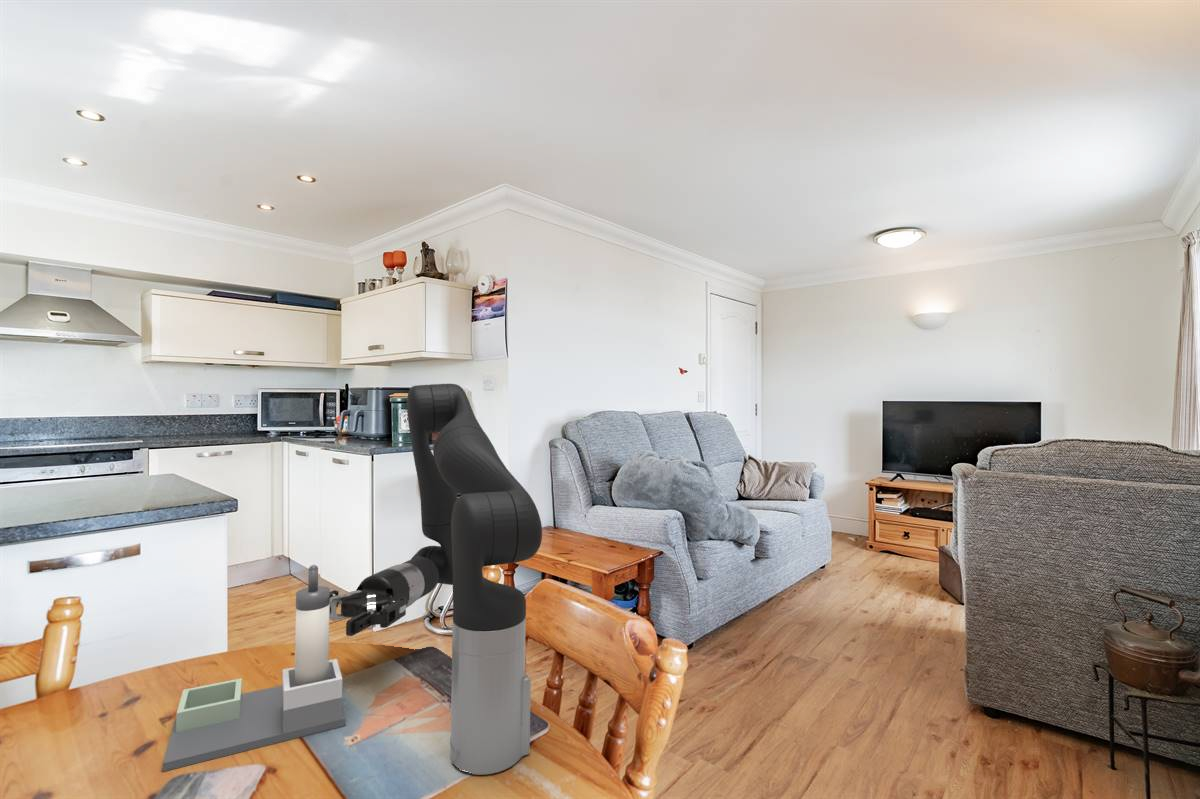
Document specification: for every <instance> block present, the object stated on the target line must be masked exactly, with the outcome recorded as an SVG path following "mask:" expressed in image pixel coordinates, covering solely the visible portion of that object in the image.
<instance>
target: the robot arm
mask: <svg viewBox="0 0 1200 799" xmlns="http://www.w3.org/2000/svg"><path fill="white" fill-rule="evenodd" d="M406 414H407V422H408V429H409V435H410V436H409V437H410V440H411V442H410V443H411V448H412V454H413V460H414V466H415V472H416V477H417V482H418V483H417V484H418V488H419V495H420V496H419V498H420V499H419V500H420V511H421V512H420V513H421V514H420V516H421V530H422V535H423V536H424V537H425V538H428V539H429V540H432V541H434V542H437V544H438V545H427V546H424V547H422V548H419V550H418V551H417V552H416V553H415V554H414V555H413V556H412V557H411V559H409V560H407V561H405V562H403V563H399V564H395V565H392V566H390V567H388V568H385V569H382V570H381V571H379V572H375V573H374V574H372V575H369V576H367V577H365V578H364V579H363V580H362V581H361V582H360V584H359V585H358V587H357V588H356V590H353V591H349V592H348V593H345V594H339V592H340V590H337V589H336V590H335V589H333V590H332V591H330V606H329V620H331V621H333V622H335V621H340V620H345V619H348V620H347V621H346V623H345V635H346V636H347V637H354V636H356V634H359V633H361V632H362V631H364V630H366V629H367V628H368V629H373V628H375V627H376V625H379V627H380V628H382V629H386V628H388V627H390V626H391V625H393V624H394V623H396V622H398V620H400V619H402V618H403V617H404V616H406V613H407V608H409V607H410V606H412V605H414V603H415V602H416V601H418V600H419V599H421V598H423V597H425V596H426V595H428V594H431V592H432V591H433V590H434V589H435V588H436V586H437V585H438V584H441V585H450V586H452V634H451V635H452V636H451V639H452V641H451V644H452V645H451V647H452V649H451V693H450V694H451V695H450V696H451V697H450V706H451V707H450V739H449V746H450V754H449V755H450V756H449V757H450V761H452V762H453V763H452V762H451V763H452V765H453V764H454V765H455V766H456V767H457V768H456V767H455V766H454V765H453V766H454V767H455V768H456V769H458V768H459V769H461V770H465V771H468V772H471V773H472V774H471V775H477V776H478V775H479V776H481V775H492V774H496V773H500V772H502V771H505V770H507V769H509V768H511V767H513V766H514V765H515V764H517V763H518V762H519V760H520V759H522V758H523V757H524V756H527V755H529V754H530V752H531V751H530V744H531V740H530V739H531V699H532V698H531V695H532V694H531V693H532V692H531V691H532V690H531V688H532V686H531V685H532V684H531V683H532V682H531V681H532V680H531V678H530V677H529V675H527V672H526V621H527V617H526V616H527V599H526V596H525V594H524V593H523V592H522V591H521V590H519V589H518V588H516V587H514V586H511V585H507V584H503V583H499V582H495V581H492V580H490V579H487V578H486V577H484V576H483V575H484V574H483V568H484V567H490V566H491V567H492V566H499V565H508V564H514V563H521V562H524V561H527V560H530V559H531V558H533V557H534V556H535V555H536V554H537V553H538V551H539V550H540V548H541V547H540V546H541V545H542V539H543V528H542V525H543V524H542V520H541V517H540V513H539V510H538V508H537V506H536V503H535V502H534V500H533V499H532V497H531V495H530V494H529V493H528V491H527V490H526V488H524V486H523V485H522V484H521V483H520V482H519V481H518V480H517V479H516V478H515V476H514V475H513V474H512V473H511V472H510V470H508V468H507V467H506V465H505V464H504V462H503V461H502V459H501V458H500V456H499V454H498V453H497V450H496V448H495V447H494V445H493V443H492V441H491V440H490V438H489V436H488V435H487V434H486V432H485V431H484V429H483V428H482V426H481V424H480V423H479V421H478V420H477V418H476V415H475V413H474V410H473V408H472V406H471V404H470V401H469V398H468V395H467V394H466V391H465V390H464V389H463V387H462V386H460V385H459V384H455V383H433V384H432V383H431V384H422V385H421V384H420V385H419V384H418V385H413V386H411V387H409V391H408V393H407V398H406ZM433 433H438V434H437V436H436V438H435V440H434V442H433V446H432V447H433V448H432V449H431V447H430V442H429V436H428V434H433ZM457 493H458V494H460V495H459V496H458V494H457ZM339 605H340V613H337V608H338V607H339ZM459 769H458V770H459ZM461 770H460V771H461Z"/></svg>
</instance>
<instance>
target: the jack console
mask: <svg viewBox="0 0 1200 799" xmlns="http://www.w3.org/2000/svg"><path fill="white" fill-rule="evenodd" d="M281 673H282V676H281V677H282V678H281V680H282V681H281V683H282V684H280V685H278V686H273V687H268V688H264V689H259V690H254V691H250V692H249V691H248V692H244V693H242V692H243V691H242V690H243V678H237V679H232V680H231V679H230V680H226V681H220V682H216V683H211V684H206V685H200V686H196V687H191V688H185V689H183V690H182V693H181V696H180V700H179V703H178V707H177V711H176V717H175V720H174V722H173V727H172V731H171V733H170V737H169V741H168V744H167V748H166V750H165V751H166V752H165V754H164V758H163V761H162V772H163V773H164V772H167V771H172V770H175V769H179V768H185V767H187V766H192V765H195V764H199V763H203V762H207V761H211V760H216V759H219V758H223V757H227V756H231V755H235V754H239V753H242V752H247V751H251V750H255V749H258V748H263V747H266V746H270V745H273V744H279V743H282V742H286V741H291V740H294V739H298V738H302V737H305V736H310V735H314V734H318V733H321V732H325V731H330V730H333V729H337V728H341V727H345V726H346V720H347V719H346V714H345V710H344V707H343V677H342V676H343V675H342V672H341V668H340V665H339V660H338V658H334V659H329V680H324V681H320V682H315V683H310V684H305V685H301V686H296V687H295V666H294V667H289V668H283V669H282V672H281Z"/></svg>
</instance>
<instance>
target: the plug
mask: <svg viewBox="0 0 1200 799" xmlns="http://www.w3.org/2000/svg"><path fill="white" fill-rule="evenodd" d="M307 576H308V580H307V581H308V582H307V585H308V586H307V587H304V588H302V589H299V590H297V591H296V593H295V629H294V631H295V633H294V634H295V636H294V637H295V640H294V647H295V648H294V667H295V687H296V686H301V685H305V684H310V683H315V682H320V681H324V680H329V660H330V619H329V606H330V592H331V591H330V590H331V589H330V587H328V586H325V585H323V586H322V585H319V567H318V565H316V564H312V565H310V566H309V567H308V574H307Z"/></svg>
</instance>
